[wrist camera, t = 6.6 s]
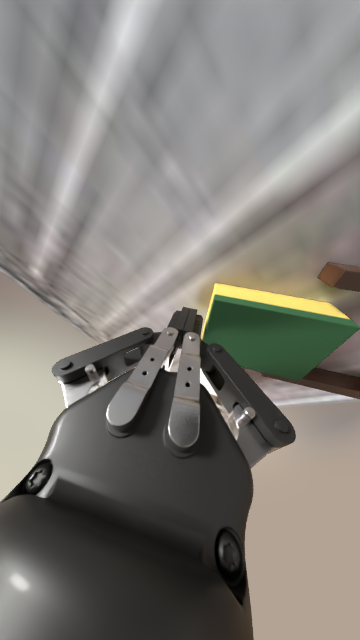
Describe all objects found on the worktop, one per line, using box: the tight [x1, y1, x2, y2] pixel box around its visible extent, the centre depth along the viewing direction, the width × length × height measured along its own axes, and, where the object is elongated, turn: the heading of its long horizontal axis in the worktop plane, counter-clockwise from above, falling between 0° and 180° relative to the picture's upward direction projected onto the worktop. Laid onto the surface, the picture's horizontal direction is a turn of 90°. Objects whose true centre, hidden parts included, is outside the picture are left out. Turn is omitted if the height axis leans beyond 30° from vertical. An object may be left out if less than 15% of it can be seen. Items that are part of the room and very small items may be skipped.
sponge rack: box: [261, 263, 360, 399], centre depth 13 cm, size 12×12×2 cm
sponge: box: [201, 283, 360, 381], centre depth 14 cm, size 7×10×3 cm
